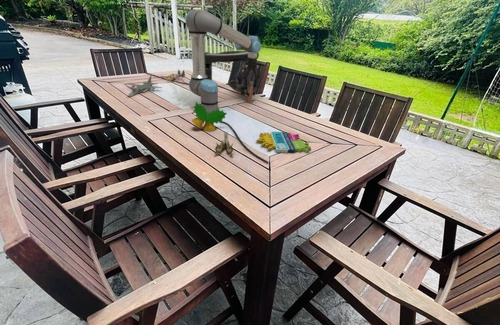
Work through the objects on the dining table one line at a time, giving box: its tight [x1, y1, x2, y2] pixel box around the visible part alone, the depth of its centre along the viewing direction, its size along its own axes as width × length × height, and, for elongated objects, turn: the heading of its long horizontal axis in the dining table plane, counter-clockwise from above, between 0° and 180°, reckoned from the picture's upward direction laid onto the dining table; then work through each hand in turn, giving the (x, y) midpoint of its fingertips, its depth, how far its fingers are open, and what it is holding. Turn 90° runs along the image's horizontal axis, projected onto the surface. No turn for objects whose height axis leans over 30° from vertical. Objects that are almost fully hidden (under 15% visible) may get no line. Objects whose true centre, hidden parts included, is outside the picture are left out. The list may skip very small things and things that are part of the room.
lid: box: [247, 80, 254, 86], centre depth 215 cm, size 5×5×2 cm
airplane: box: [126, 75, 163, 98], centre depth 227 cm, size 38×31×10 cm
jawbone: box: [214, 131, 234, 156], centre depth 136 cm, size 9×15×10 cm
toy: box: [160, 69, 186, 82], centre depth 279 cm, size 28×7×30 cm
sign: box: [256, 131, 312, 154], centre depth 152 cm, size 26×2×30 cm
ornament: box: [191, 102, 228, 132], centre depth 162 cm, size 21×8×15 cm, turn 105°
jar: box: [246, 84, 254, 104], centre depth 218 cm, size 5×5×16 cm
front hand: (250, 87), depth 216 cm, fingers open, 7 cm apart
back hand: (251, 94), depth 217 cm, fingers closed on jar, 4 cm apart
